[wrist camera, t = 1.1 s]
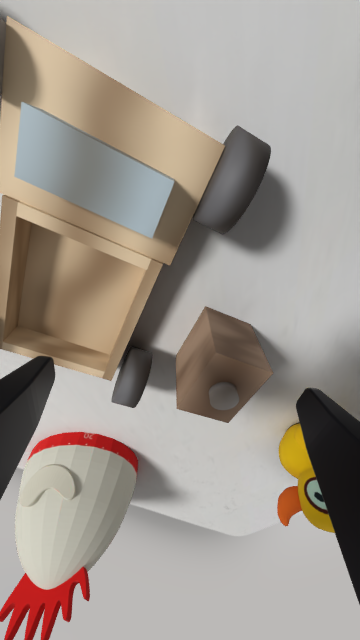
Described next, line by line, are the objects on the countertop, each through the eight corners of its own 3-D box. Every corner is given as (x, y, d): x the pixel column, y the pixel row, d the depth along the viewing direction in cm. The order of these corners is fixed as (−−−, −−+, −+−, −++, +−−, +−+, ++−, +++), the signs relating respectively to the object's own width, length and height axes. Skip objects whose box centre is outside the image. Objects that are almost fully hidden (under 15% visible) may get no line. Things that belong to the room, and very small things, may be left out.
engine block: (250, 324, 22) (277, 381, 16) (216, 369, 25) (230, 432, 19) (205, 306, 21) (217, 361, 15) (175, 355, 24) (176, 418, 18)
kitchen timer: (11, 439, 30) (-103, 637, 18) (120, 424, 29) (81, 623, 17) (60, 491, 38) (4, 656, 25) (148, 481, 37) (136, 648, 24)
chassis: (252, 146, 15) (284, 142, 11) (136, 375, 25) (128, 419, 21) (-9, -15, 11) (-114, -115, 7) (-23, 328, 21) (-70, 369, 17)
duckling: (261, 449, 33) (291, 549, 25) (249, 427, 30) (279, 531, 22) (351, 425, 31) (419, 526, 22) (347, 399, 28) (423, 503, 20)
